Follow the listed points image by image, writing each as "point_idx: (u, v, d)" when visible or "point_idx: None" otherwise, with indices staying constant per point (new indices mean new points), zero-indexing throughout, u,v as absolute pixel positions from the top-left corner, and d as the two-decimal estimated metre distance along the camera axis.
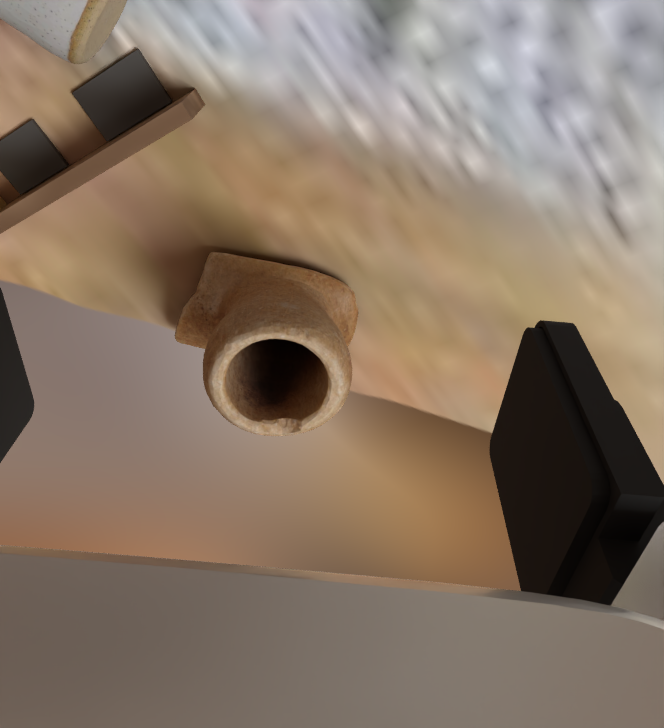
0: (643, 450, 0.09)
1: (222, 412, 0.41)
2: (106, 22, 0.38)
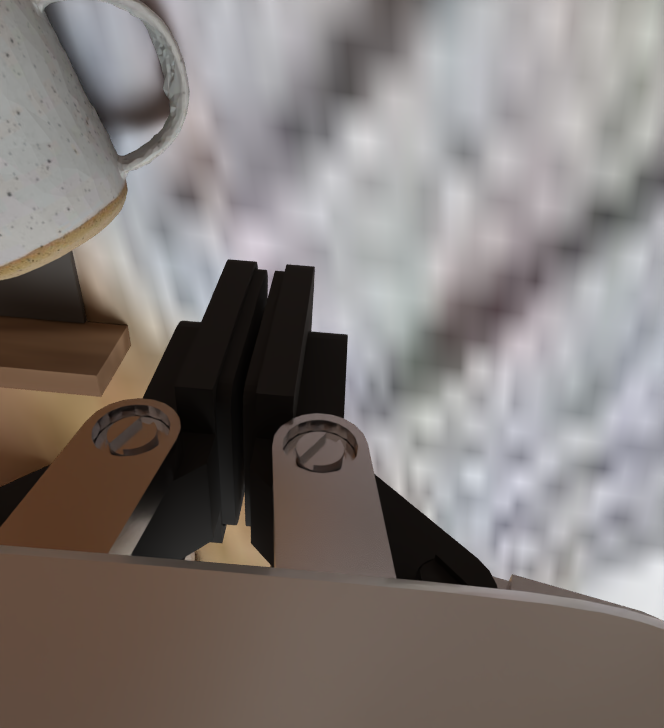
0: (344, 373, 0.10)
1: None
2: None
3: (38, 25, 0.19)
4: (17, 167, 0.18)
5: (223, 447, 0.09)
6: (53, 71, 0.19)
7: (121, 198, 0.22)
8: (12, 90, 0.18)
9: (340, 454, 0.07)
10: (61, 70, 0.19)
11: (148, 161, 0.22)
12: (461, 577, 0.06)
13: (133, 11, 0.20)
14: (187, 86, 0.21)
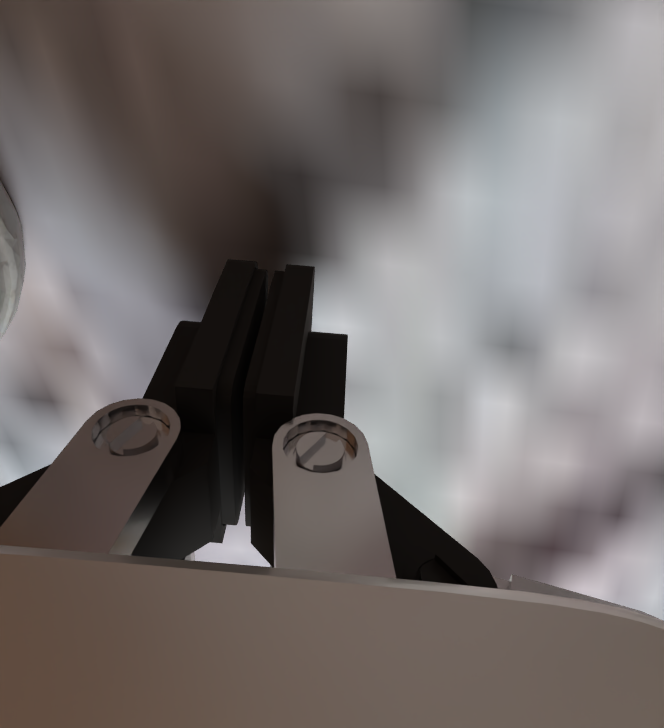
0: (344, 373, 0.10)
1: None
2: None
3: None
4: None
5: (223, 447, 0.09)
6: None
7: None
8: None
9: (340, 454, 0.07)
10: None
11: None
12: (461, 577, 0.06)
13: None
14: (13, 251, 0.11)
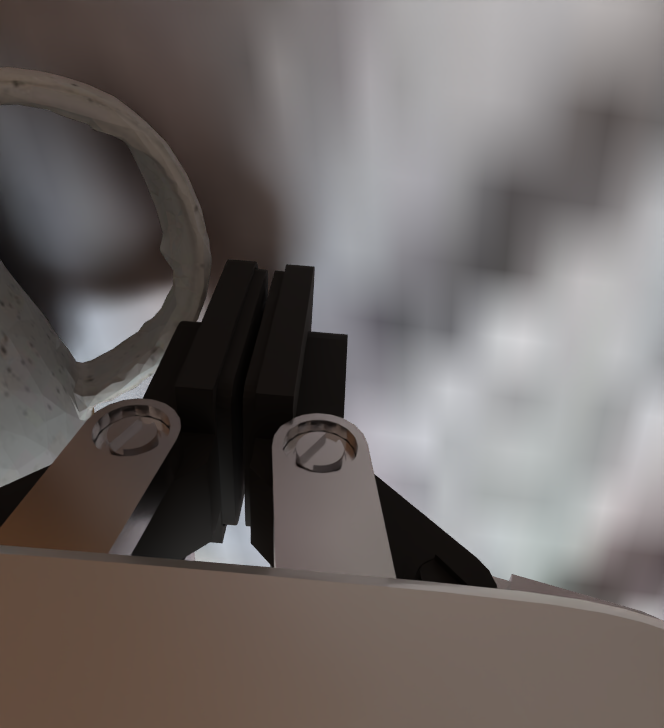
0: (344, 373, 0.10)
1: None
2: None
3: None
4: None
5: (223, 447, 0.09)
6: None
7: None
8: None
9: (340, 454, 0.07)
10: None
11: (133, 385, 0.12)
12: (461, 577, 0.06)
13: (96, 123, 0.09)
14: (208, 252, 0.11)
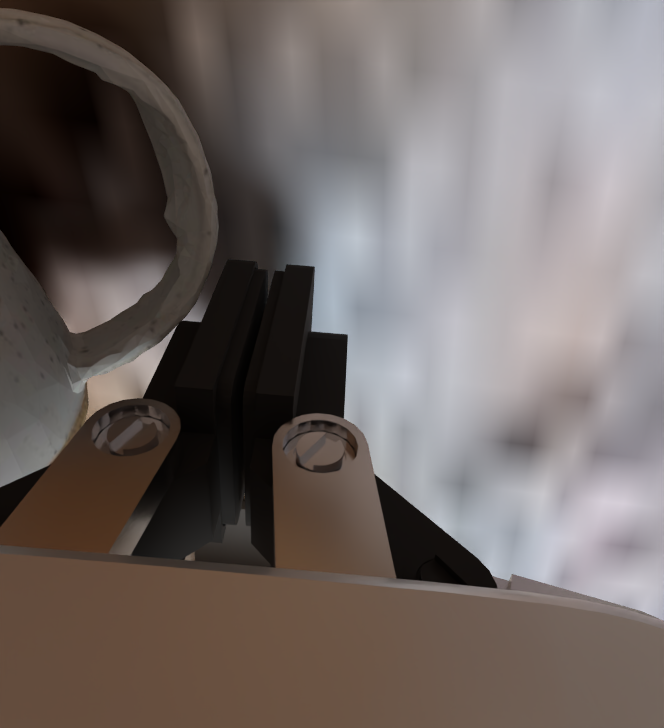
0: (344, 373, 0.10)
1: None
2: None
3: None
4: None
5: (223, 447, 0.09)
6: None
7: None
8: None
9: (340, 454, 0.07)
10: None
11: (131, 358, 0.11)
12: (461, 577, 0.06)
13: (105, 72, 0.09)
14: (216, 219, 0.10)
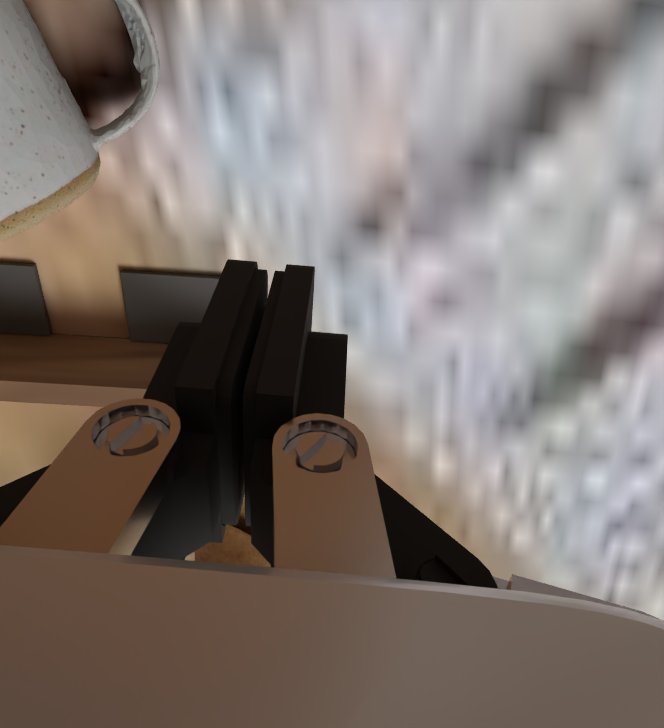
0: (344, 373, 0.10)
1: None
2: None
3: None
4: None
5: (223, 447, 0.09)
6: (25, 39, 0.19)
7: (94, 168, 0.22)
8: None
9: (340, 454, 0.07)
10: (33, 39, 0.20)
11: (120, 133, 0.22)
12: (461, 577, 0.06)
13: None
14: (157, 59, 0.22)
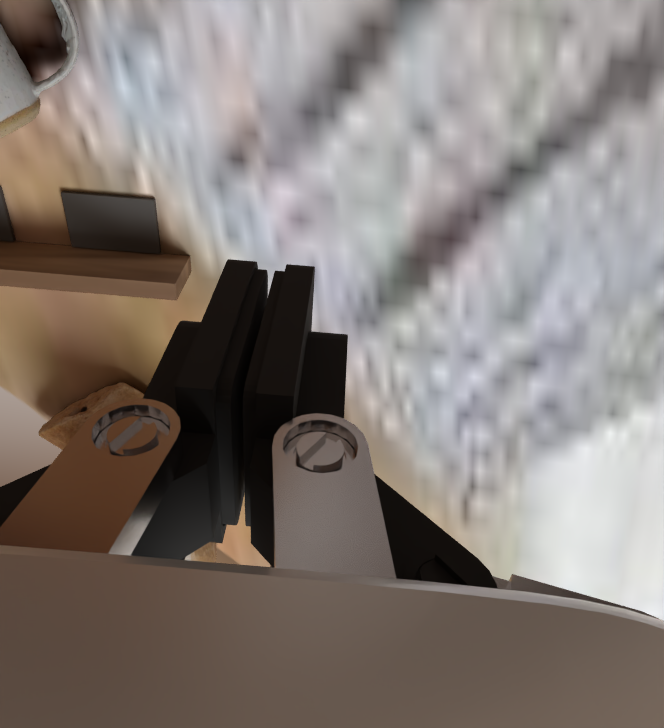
0: (344, 373, 0.10)
1: None
2: None
3: None
4: None
5: (223, 447, 0.09)
6: None
7: (33, 107, 0.32)
8: None
9: (340, 454, 0.07)
10: None
11: (52, 84, 0.33)
12: (461, 577, 0.06)
13: None
14: (76, 33, 0.32)
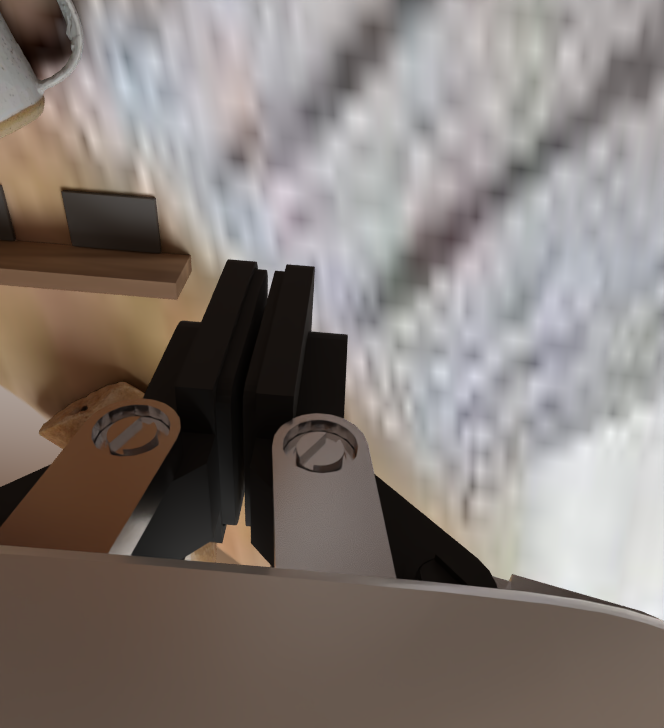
0: (344, 373, 0.10)
1: None
2: None
3: None
4: None
5: (223, 447, 0.09)
6: None
7: (37, 105, 0.32)
8: None
9: (340, 454, 0.07)
10: None
11: (57, 82, 0.33)
12: (461, 577, 0.06)
13: None
14: (81, 30, 0.32)
